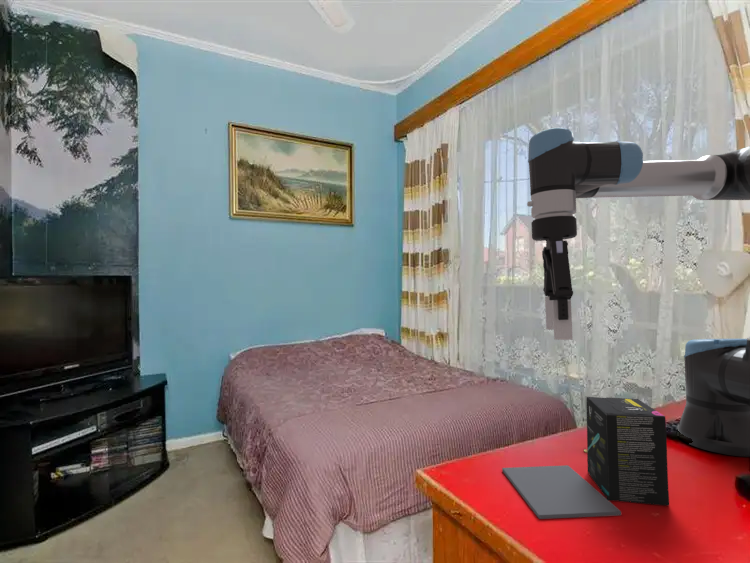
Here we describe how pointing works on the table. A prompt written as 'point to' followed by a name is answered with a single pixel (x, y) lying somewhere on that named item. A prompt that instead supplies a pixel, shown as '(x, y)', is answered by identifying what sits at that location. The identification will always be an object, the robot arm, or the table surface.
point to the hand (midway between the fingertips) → (558, 334)
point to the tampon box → (627, 450)
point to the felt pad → (559, 492)
